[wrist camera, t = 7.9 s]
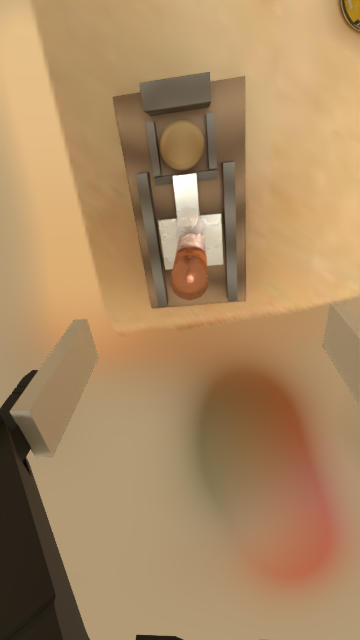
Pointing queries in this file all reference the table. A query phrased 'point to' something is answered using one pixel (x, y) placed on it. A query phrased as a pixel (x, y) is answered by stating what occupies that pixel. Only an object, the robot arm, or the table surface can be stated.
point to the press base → (212, 172)
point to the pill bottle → (352, 12)
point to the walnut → (181, 144)
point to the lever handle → (190, 240)
